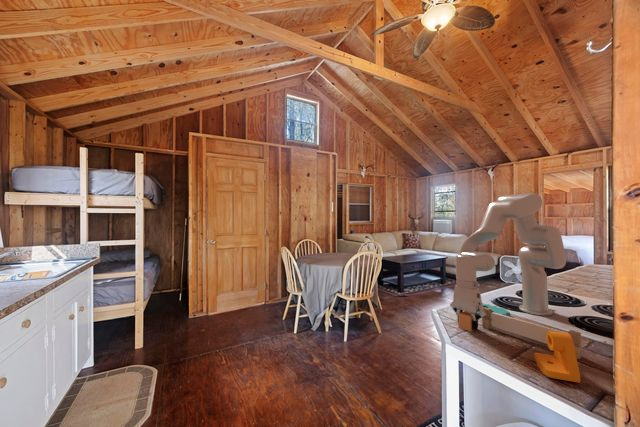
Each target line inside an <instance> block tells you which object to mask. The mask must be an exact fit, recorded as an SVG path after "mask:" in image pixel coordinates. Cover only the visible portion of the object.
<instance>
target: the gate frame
mask: <svg viewBox="0 0 640 427" xmlns="http://www.w3.org/2000/svg"><path fill="white" fill-rule="evenodd" d="M483 310H484V311H485V313H486V315H485V316H483V317H481V320H482V323H481V326H482V328H483V329H487V330H493V331H497V332H500V333H503V334H506V335H509V336H511V337H515V338H517V339H521V340H524V341H527V342H531V343H533V344H536V345H540V346H542V347H546V348H548V349H549V347H548V344H547V343H543V342H540V341H537V340H534V339H531V338H528V337H525V336H521V335H518V334H515V333H512V332H509V331H506V330H503V329H499V328H496V327H493V326H492V317H491V309H490V308H486V307H484V308H483ZM567 333H568V334H570V335H571V337H572V339H573V343H574V348H575V353H576V358H577V360H580V359H581V358H582V357H583V353H582V334H581V332H579V331H576V330H572V329H569V330H568V331H567Z"/></svg>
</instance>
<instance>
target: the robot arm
mask: <svg viewBox="0 0 640 427" xmlns="http://www.w3.org/2000/svg"><path fill="white" fill-rule="evenodd" d="M542 206H543V199H542V197H541V195H539V194H538V193H534V192H530V193H529V192H528V193H527V192H526V193H516V194H506V195H505V194H504V195H501V196H499V197H498V198H497V200H495V201H492V202H490V203H489V204H488V205H487V207H486V210H485V213H484V215H483V218H482V220H481V222H480V225H479V227H478V230H475V232H473V233H472V234H471V235H469V236H468V237H467V238H466V239H465V240H464V242H463V243H462V244H461V247H460V249H459V252H458V254H456V255H455V278H456V280H455V283H456V284H455V285H454V290H453V298H452V299H453V300H452V301H451V303H450V304H449V306H450V307H451V309H453V311H454V312H455V315H456V316H457V317H458V313H460V312H463V311H467V312H470V313H471V315H472V318H473V320H472V330H474V331H475V330H478V328H479V320H481V319H482V317H483V316H485V315H486V313H485V311H484V310H483V308H482V303H483V300H482V293H481V291H480V288H479V287H480V286H481V284H480V283H478V280H477V272H489V271H491V270H493V269H494V267H495V266H496V261H495V258H494V257H493V256H492V255H490V254H488V253H483V252H476V251H475V250H476V249H477V248H478V247H479V246H481V245H482V244H485V243H487V242H490V241H493V240H496V239H499V237H500V236H501V235H502V232H503V229H504V228H505V227H504V226H505V223H506V221H508V220H513V222H514V227H515V231H516V234H517V237H518V241H519V242H520V243H522V244H524V245H525V246H522V247H520V248H519V251H518V259H519V262H520V268H521V285H522V286H521V288H522V289H521V290H522V291H521V292H522V304H520V305H519V306H518V308H519V310H520V311H521V312H524V313H527V314H531V315H537V316H552V315H553V314H554V313H553V312H554V311H553V310H552V309H550V308H549V297H548V296H549V295H548V294H549V292H548V291H549V290H548V288H549V287H548V275H547V272H546V271H545V270H544V268H548V269H555V270H559V269H563V268H564V267H565V266H566V263H567V256H566V251H565V245H564V242H563V238H562V234H561V231H560V230H559V229H558V228H557V227H556V226H553V225H547V224H546V225H542V224H541V225H540V224H539V223H538V220H537V217H536V215H535V213H537V212H538V211H539V210H541V209H542ZM478 312H480V314H479V315H478ZM457 324H458V326H459V323H457Z"/></svg>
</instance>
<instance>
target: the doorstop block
mask: <svg viewBox="0 0 640 427" xmlns="http://www.w3.org/2000/svg"><path fill="white" fill-rule="evenodd" d="M472 320H473V318H472V315H471V313H470V312H467V311H463V312H460V313H458V316H457V322H458V323H459V325H458V328H460V329H461V328H462V329H461V330H464V329H465V330H464V331H467V330H468V331H467V332H470V333H472V332H473V330H472ZM458 323H457V324H458Z"/></svg>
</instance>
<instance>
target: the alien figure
mask: <svg viewBox="0 0 640 427" xmlns="http://www.w3.org/2000/svg"><path fill="white" fill-rule="evenodd" d="M484 307H486V308H490V309H491V317H492V312H494V313H498V314H501V315H505V316H509V317H511V312H510V311H508V310H507V309H505V308H504V307H499V306H496V305H491V304H489V303H488V304H487V303H483V302H482V308H484ZM479 314H480V312H478V315H479Z"/></svg>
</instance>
